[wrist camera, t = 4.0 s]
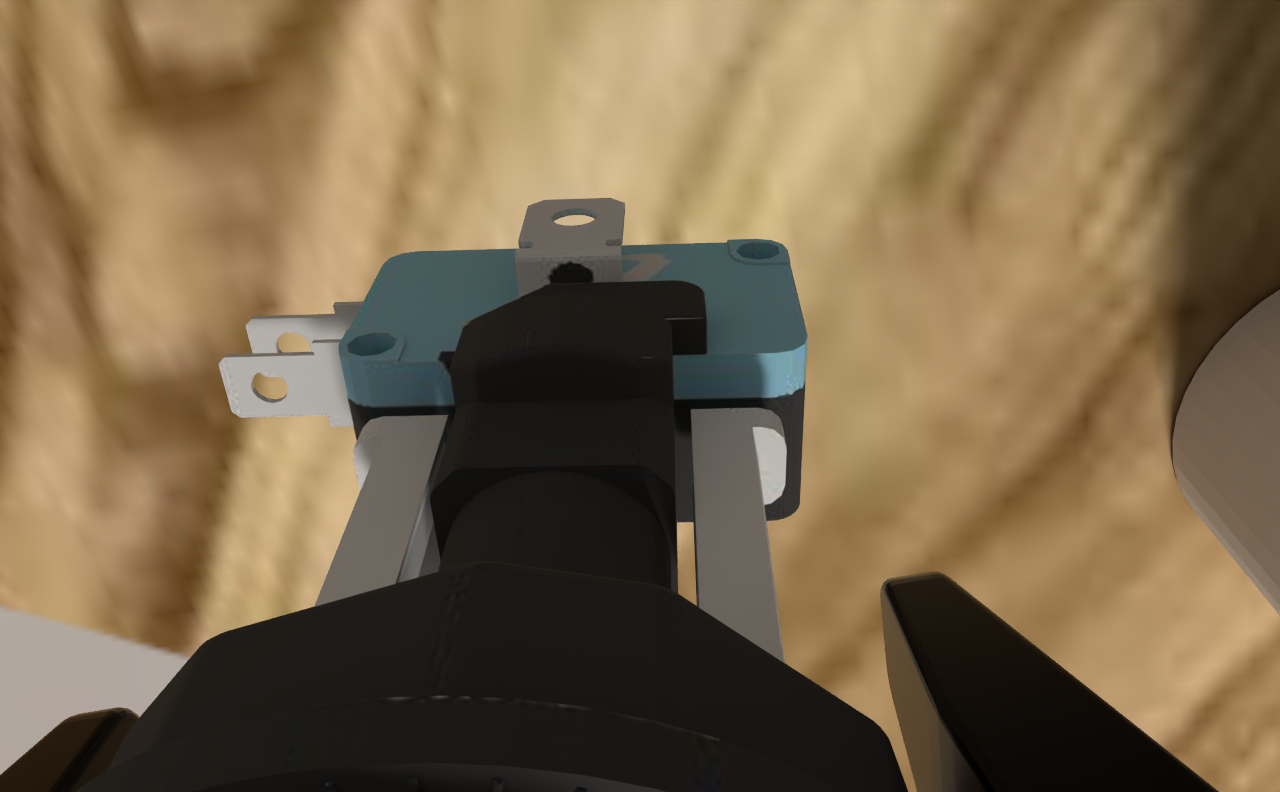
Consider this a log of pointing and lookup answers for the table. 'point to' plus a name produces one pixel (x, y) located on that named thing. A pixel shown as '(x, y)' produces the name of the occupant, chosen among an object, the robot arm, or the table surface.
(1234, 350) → the grey tall wavy piece
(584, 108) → the table surface
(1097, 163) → the table surface
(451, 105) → the table surface
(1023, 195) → the table surface
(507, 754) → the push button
